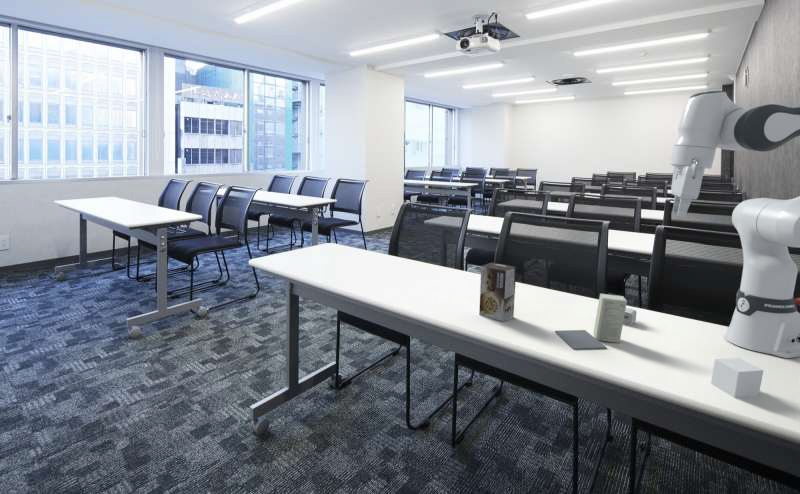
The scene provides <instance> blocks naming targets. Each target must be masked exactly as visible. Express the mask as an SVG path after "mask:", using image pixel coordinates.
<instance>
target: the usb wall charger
mask: <svg viewBox="0 0 800 494" xmlns="http://www.w3.org/2000/svg"><path fill="white" fill-rule="evenodd" d="M637 313H638V312H637V310H636V309H632V308H629V307H626V310H625V315H624V321H623V326H629V327H630V326H632V325H633V324H634V323H635V322H636V319H637Z"/></svg>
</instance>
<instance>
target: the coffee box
mask: <svg viewBox="0 0 800 494" xmlns="http://www.w3.org/2000/svg"><path fill="white" fill-rule="evenodd" d="M516 278H517V266H512V265H508V264H501V263H496V262H490V263H486V264H483V265H481V266H480V284H479V285H480V288H479V289H480V290H479V311H478V313H479V314H478V315H480V316H483V317H486V318H490V319H493V320H498V321H501V322H505V321H508V320H510V319H512V318H514V313H515V312H514V311H515V297H516V296H515V294H516Z"/></svg>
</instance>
